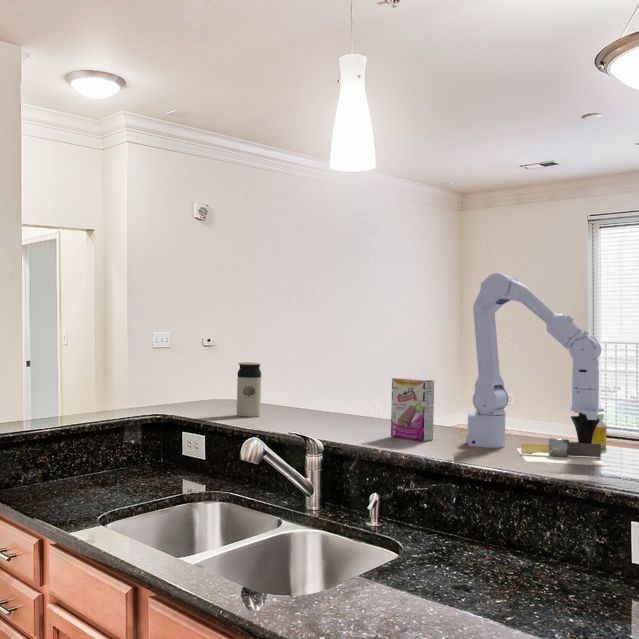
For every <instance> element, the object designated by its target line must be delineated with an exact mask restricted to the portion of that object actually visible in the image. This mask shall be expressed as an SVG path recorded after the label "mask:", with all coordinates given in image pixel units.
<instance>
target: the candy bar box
mask: <svg viewBox="0 0 639 639" xmlns="http://www.w3.org/2000/svg"><path fill="white" fill-rule="evenodd" d="M434 397H435V380H433V379H424V378H423V379H422V378H412V377H393V378H391V410H390V411H391V414H390V415H391V417H390V423H391V424H390V436H391V437H393V438H400V439H404V440H405V439H406V440H411V439H412V440H411V441H417V440H419V442H428V441H427V440H429V441H432V440H433V439H434V410H435V409H434V407H435V406H434V405H435V404H434V403H435V402H434V401H435V398H434Z"/></svg>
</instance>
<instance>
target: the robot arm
mask: <svg viewBox="0 0 639 639" xmlns="http://www.w3.org/2000/svg"><path fill="white" fill-rule="evenodd" d="M477 294H478V295H477V296H476V299H475V301H474V303H473V308H472V310H473V321H474V322H473V323H474V334H475V335H474V336H475V347H476V359H477V371H478V374H477V375H478V376H477V378H476V380H475V383H474V393H473V395H472V404H473V407H474V409H475V413H474V412H468V414H467V426H466V428H467V432H466V433H467V434H466V437H465V438H466V439H465V441H466V442H465V443H467V445H468V447H479V448H480V447H481V448H493V449H498V448H500V449H501V448H504V447H506V411H505V408H506V407H507V406H508V404H509V401H510V396H509V394H508V392H507V390H506V388H505V383H504V382H505V381H504V379H503V378H502V376H501V372H500V363H499V362H500V360H499V351H498V350H499V349H498V338H497V336H498V335H497V325H496V313H497V311H499V309H501V308H502V306H504V305H505V304H507V303H508V302H511V301H514V302H518V303H521V304H522V305H524V306H525V307H526V309H528V310H529V311H531V312H532V313H533V314H534V315H535V316H537V317H538V318H539V319H541V320H542V321H543V322H544V324H545V326H546V331H547V333H548V334H549V335H551V337H552V338H554V339H555V340H556V341H557V342H558V343H559V344H560V345H561V346H562V347H563V348H565V349H566V350H568V352H569V354H570V357H571V359H572V369H571V370H572V373H571V374H572V379H571V384H572V385H571V386H572V387H571V388H572V389H571V402H572V403H571V406H570V410H571V411H572V412H573V413H575V414H576V413H577V414H578V415H572V416H571V417H570V418H571V420H572V422H573V425H574V427H575V432H576V436H577V437H576V438H577V442H586V443H591V442H592V438H593V434H594V431H595V428H596V426H597V424H598V423H599V421H600V419H598V417H597V413H604V412H605V408H603V407H599V402H600V401H599V398H600V397H599V393H600V390H599V389H600V386H599V383H600V382H599V381H600V369H599V365H600V364H599V357H600V355H601V354H602V347H601V344H600V342H599V341H598V340H597V338H596V337H594V336H588V335H589V334H590V333H589V331H587V329H586V330H583V329H582V328H581V327H580V326H578V325H577V324H576V323H575V321H574V317H573V316H571V315H566V314H564V313H556V312H554V310H553V309H551V307H550V306H548V304H546V303H545V302H544V301H543V300H542V299H541V298H539V296H538V295H537V294H536V293H535V292H533V290H532V289H531V288H529V287H528V286H527V285H525V283H523V282H522V281H519V280H518V279H517V278H516V277H514V276H512V275H506V274H504V273H500V272H492V273H491V274H489V275H488V276H487V277H486V278H485V279H484V280H483V281H482V282H481V283H480V289H479V292H478V293H477Z"/></svg>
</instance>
